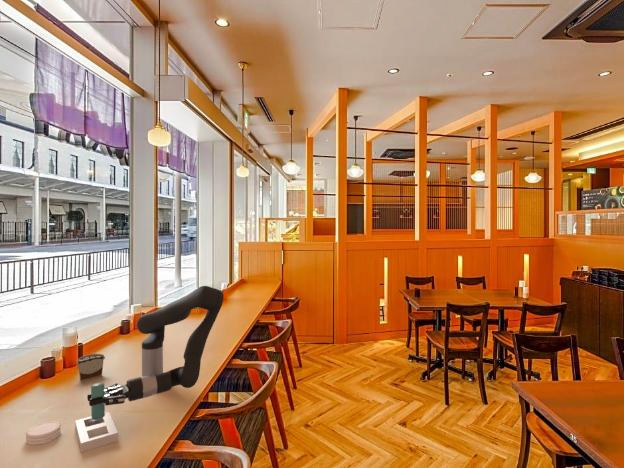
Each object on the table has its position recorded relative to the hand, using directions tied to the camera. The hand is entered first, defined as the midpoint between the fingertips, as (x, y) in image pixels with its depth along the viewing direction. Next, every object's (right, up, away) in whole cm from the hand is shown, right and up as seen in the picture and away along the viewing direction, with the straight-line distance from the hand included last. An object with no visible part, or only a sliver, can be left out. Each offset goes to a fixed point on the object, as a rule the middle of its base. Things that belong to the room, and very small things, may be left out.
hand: (88, 400), depth 130 cm
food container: (-33, -13, +57) cm, 68 cm away
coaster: (-18, -15, +4) cm, 24 cm away
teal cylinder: (+2, -6, +2) cm, 7 cm away
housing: (-1, -15, +6) cm, 16 cm away
